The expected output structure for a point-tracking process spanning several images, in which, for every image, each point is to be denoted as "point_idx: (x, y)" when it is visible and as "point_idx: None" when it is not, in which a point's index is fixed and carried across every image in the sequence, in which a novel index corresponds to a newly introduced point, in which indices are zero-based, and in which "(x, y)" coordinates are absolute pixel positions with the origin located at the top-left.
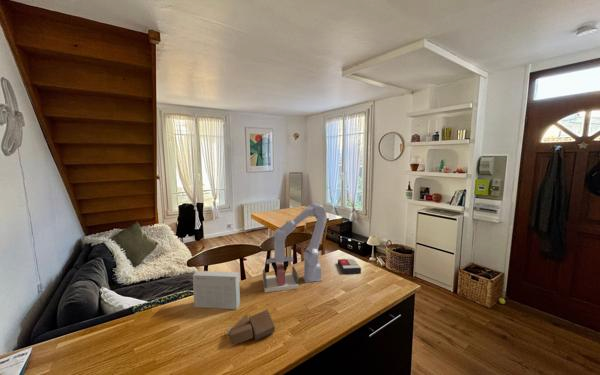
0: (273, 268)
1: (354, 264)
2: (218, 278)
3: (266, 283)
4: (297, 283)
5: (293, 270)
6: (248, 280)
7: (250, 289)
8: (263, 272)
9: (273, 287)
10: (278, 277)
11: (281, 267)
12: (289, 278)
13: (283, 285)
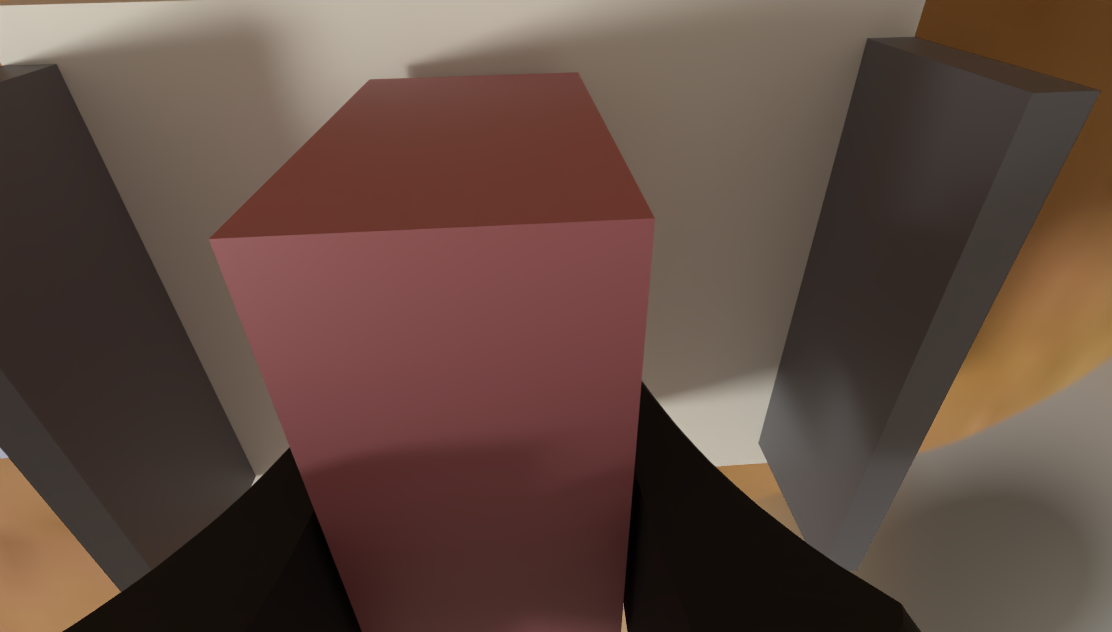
0: (783, 527)
1: None
2: None
3: (802, 231)
4: (9, 68)
5: (129, 504)
6: (966, 419)
7: (1078, 163)
8: (901, 479)
9: (699, 10)
10: (581, 135)
11: (431, 576)
12: None
13: (425, 66)
